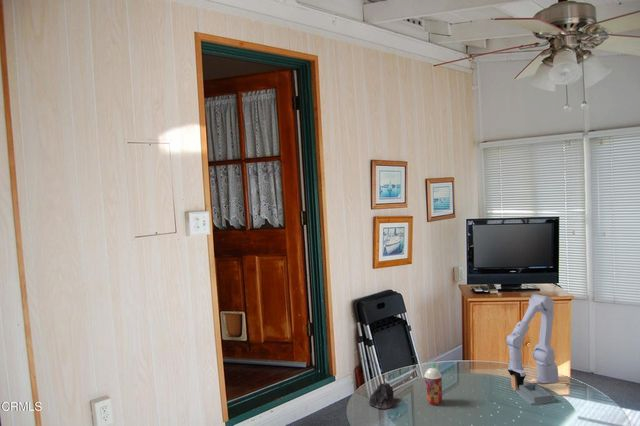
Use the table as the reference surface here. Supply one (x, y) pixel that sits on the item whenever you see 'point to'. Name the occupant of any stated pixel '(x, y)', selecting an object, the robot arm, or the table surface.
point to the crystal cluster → (382, 396)
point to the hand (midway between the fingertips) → (517, 385)
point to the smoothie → (433, 385)
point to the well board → (534, 394)
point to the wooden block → (514, 383)
